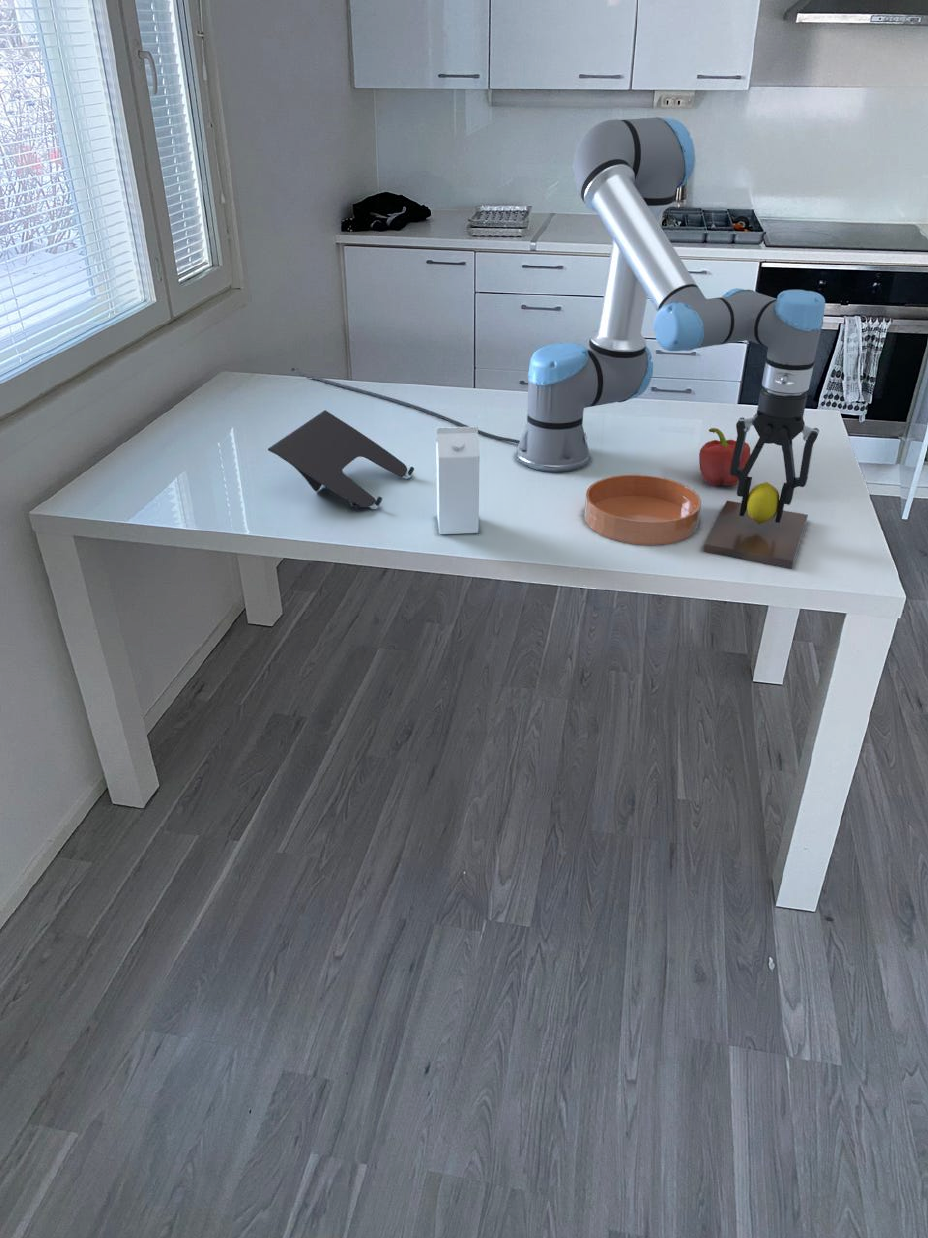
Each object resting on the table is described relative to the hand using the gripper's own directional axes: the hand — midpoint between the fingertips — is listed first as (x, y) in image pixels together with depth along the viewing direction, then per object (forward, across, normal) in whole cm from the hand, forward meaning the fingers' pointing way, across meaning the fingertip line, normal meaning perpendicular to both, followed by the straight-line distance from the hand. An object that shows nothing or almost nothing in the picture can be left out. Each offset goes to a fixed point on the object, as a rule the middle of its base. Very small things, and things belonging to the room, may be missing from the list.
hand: (760, 515), depth 167 cm
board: (+4, 0, 0) cm, 4 cm away
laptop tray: (+4, -78, -12) cm, 79 cm away
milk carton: (+4, -51, -19) cm, 55 cm away
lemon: (+2, 0, 0) cm, 2 cm away
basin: (+4, -21, -2) cm, 21 cm away
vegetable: (+4, -11, +22) cm, 25 cm away
